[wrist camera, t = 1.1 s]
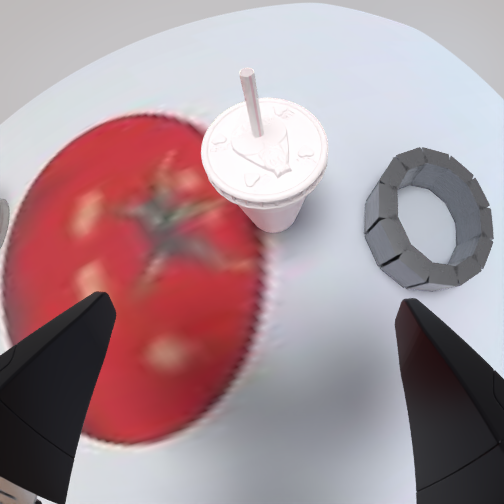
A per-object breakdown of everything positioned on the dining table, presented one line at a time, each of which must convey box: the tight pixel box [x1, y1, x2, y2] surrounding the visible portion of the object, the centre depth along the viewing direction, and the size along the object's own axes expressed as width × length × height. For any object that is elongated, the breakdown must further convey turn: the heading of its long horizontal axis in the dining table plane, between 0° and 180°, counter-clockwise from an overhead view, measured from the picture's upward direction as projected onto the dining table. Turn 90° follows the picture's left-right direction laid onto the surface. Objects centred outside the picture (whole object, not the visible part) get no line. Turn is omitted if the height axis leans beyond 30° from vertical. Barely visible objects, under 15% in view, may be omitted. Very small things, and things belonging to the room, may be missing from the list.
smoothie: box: [201, 68, 328, 233], centre depth 16 cm, size 6×6×14 cm
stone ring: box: [364, 147, 494, 292], centre depth 19 cm, size 10×10×4 cm
